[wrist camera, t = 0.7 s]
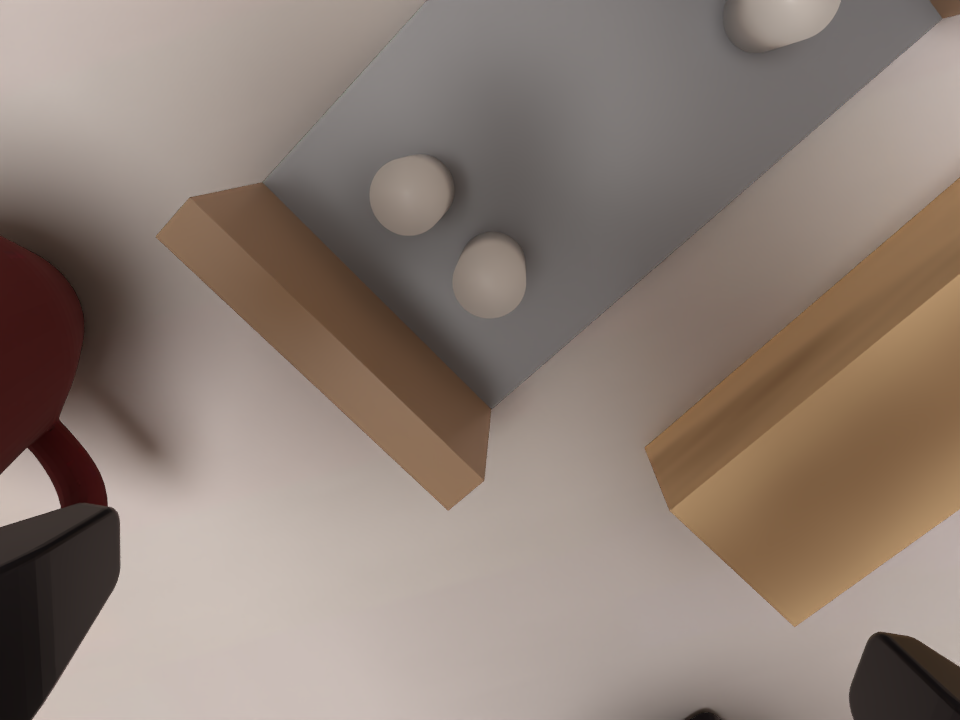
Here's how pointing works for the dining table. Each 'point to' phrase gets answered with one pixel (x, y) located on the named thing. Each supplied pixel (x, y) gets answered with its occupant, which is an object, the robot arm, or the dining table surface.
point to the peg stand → (515, 191)
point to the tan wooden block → (833, 428)
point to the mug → (41, 373)
